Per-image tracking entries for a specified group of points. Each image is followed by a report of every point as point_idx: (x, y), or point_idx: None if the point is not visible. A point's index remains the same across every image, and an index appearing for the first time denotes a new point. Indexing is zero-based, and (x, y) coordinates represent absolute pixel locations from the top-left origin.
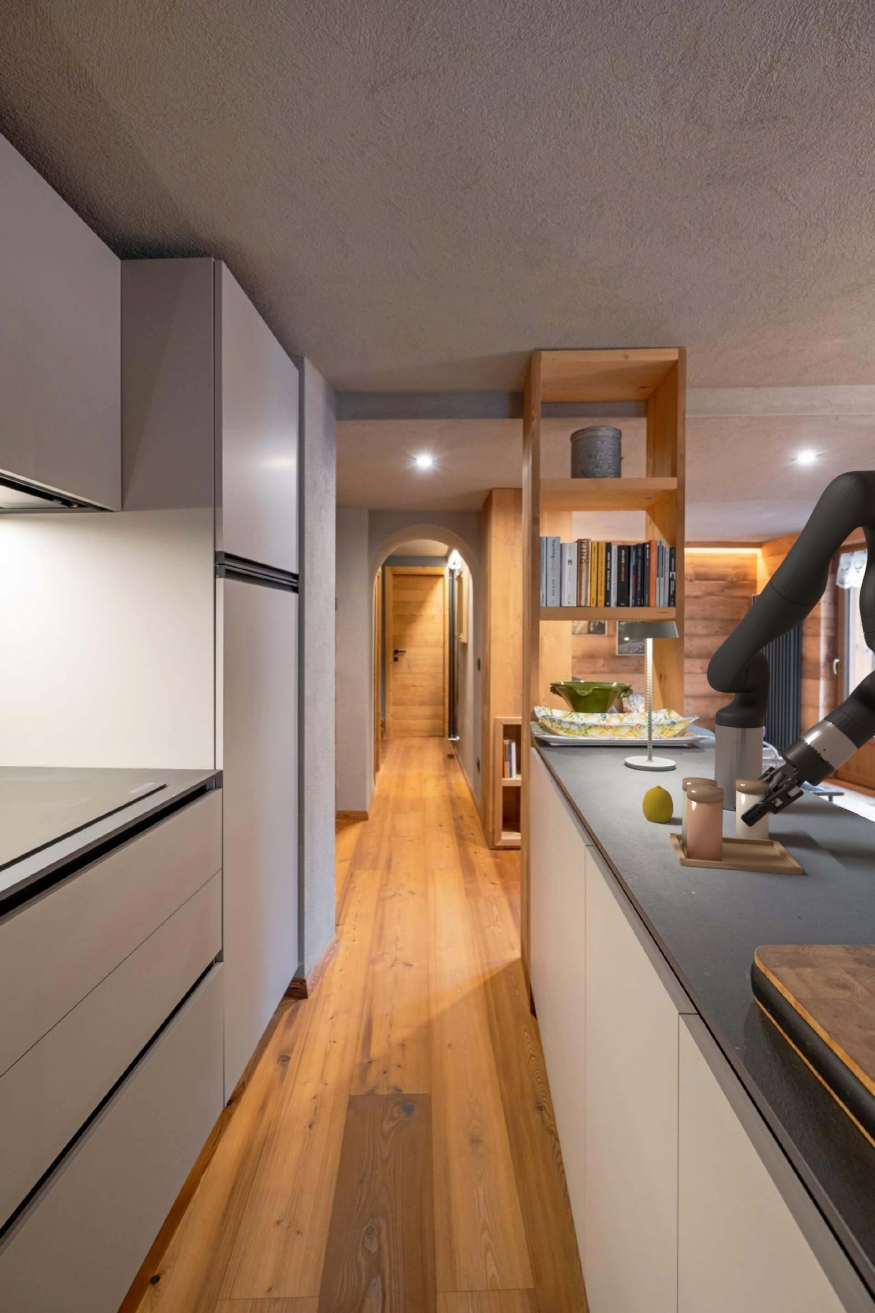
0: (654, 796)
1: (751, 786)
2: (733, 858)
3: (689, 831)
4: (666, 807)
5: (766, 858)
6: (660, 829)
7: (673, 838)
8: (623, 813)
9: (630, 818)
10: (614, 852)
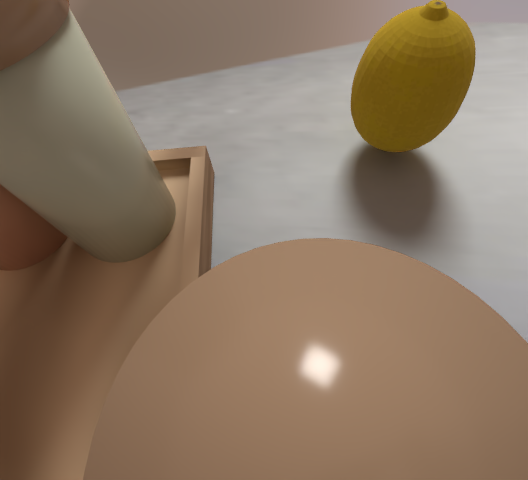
0: (374, 36)
1: (117, 394)
2: (17, 306)
3: None
4: (368, 100)
5: (1, 429)
6: (372, 152)
7: (152, 152)
8: (491, 76)
9: None
10: (150, 86)
